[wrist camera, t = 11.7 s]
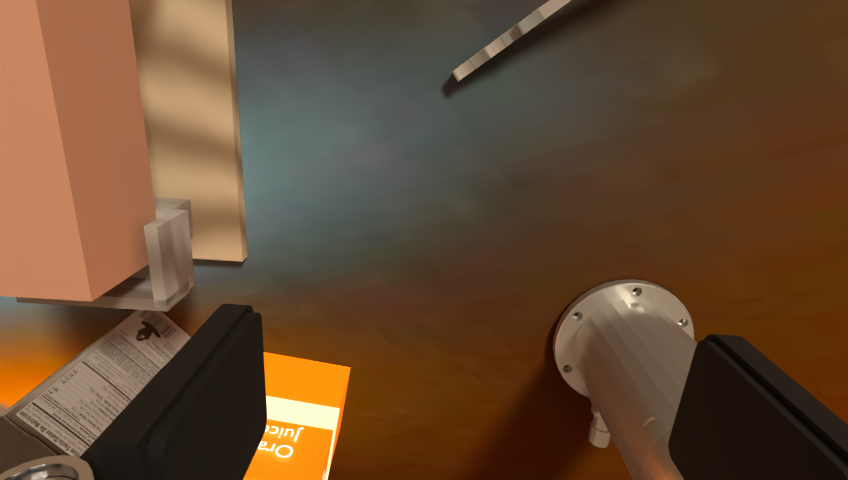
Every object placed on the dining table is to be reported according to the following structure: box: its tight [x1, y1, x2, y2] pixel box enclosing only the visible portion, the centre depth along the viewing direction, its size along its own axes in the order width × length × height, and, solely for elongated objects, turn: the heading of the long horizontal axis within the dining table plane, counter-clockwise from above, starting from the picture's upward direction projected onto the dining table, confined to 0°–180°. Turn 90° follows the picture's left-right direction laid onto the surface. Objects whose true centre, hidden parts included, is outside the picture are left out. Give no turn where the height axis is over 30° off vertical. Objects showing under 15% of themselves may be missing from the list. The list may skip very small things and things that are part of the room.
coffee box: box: [0, 310, 191, 474], centre depth 37 cm, size 9×6×16 cm
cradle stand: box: [16, 0, 248, 311], centre depth 31 cm, size 32×11×12 cm, turn 176°
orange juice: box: [243, 352, 351, 480], centre depth 37 cm, size 8×9×20 cm
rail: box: [0, 0, 157, 301], centre depth 25 cm, size 25×6×7 cm, turn 176°
